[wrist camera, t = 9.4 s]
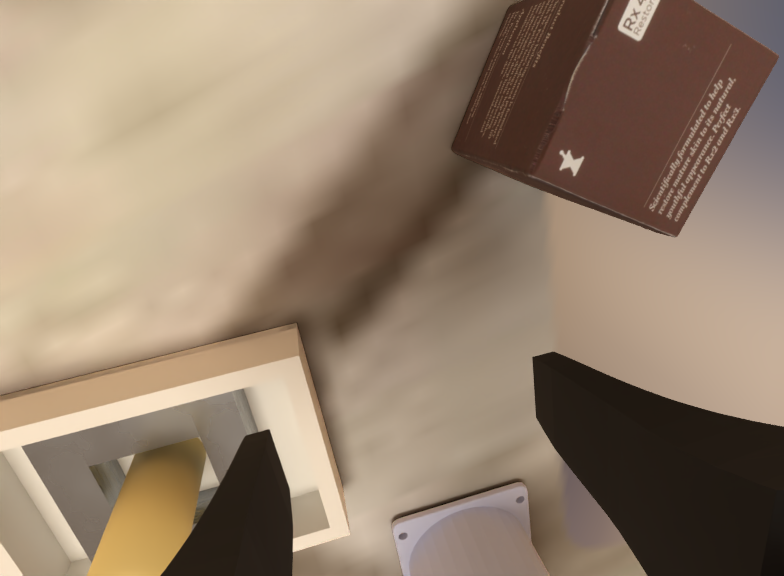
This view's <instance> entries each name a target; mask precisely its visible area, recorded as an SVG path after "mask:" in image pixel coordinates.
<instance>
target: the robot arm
mask: <svg viewBox="0 0 784 576" xmlns="http://www.w3.org/2000/svg"><path fill="white" fill-rule="evenodd" d="M532 358H533V373H534V389H535V405H536V418H537V419H538V421H539V423H540V425H541V426H542V428H543V430H544V432H545V433H546V435H547V437H548V438H549V440H550V442H551V443H552V445H553V446H554V448H555V449H556V451H557V452H558V453H559V455H560V456H561V457H562V458H563V460H564V461H565V462H566V464H567V465H568V466H569V467H570V469H571V470H572V471H573V473H574V474H575V475H576V476H577V478H578V479H579V480H580V481H581V483H582V484H583V485H584V486H585V488H586V489H587V490H588V491H589V492H590V494H591V495H592V496H593V498H594V499H595V500H596V501H597V503H598V504H599V505H600V506H601V508H602V509H603V510H604V511H605V513H606V514H607V515H608V517H609V518H610V519H611V521H612V522H613V523H614V525H615V526H616V528H617V529H618V530H619V532H620V533H621V535H622V536H623V538H624V539H625V541H626V543H627V544H628V546H629V547H630V549H631V550H632V552H633V553H634V555H635V556H636V558H637V560H638V561H639V563H640V564H641V566H642V567H643V569H644V571H645V572H646V574H647V575H648V576H784V427H782V426H776V425H771V424H765V423H760V422H755V421H750V420H746V419H741V418H737V417H732V416H728V415H723V414H719V413H716V412H712V411H708V410H704V409H701V408H698V407H694V406H691V405H687V404H684V403H681V402H677V401H674V400H671V399H668V398H665V397H662V396H660V395H657V394H654V393H652V392H649V391H646V390H643V389H641V388H638V387H636V386H633V385H630V384H628V383H625V382H623V381H621V380H618V379H616V378H613V377H611V376H609V375H606V374H604V373H602V372H600V371H597V370H595V369H593V368H591V367H588V366H586V365H584V364H581V363H579V362H577V361H575V360H572V359H570V358H568V357H566V356H563V355H561V354H558V353H556V352H550V353H546V354H543V355H539V356H535V357H532ZM518 497H519V498H518ZM392 531H393V536H394V540H395V544H396V548H397V552H398V557H399V561H400V565H401V569H402V573H403V576H550V575H549V573H548V571H547V569H546V568H545V566H544V564H543V562H542V560H541V559H540V557H539V555H538V553H537V551H536V550H535V548H534V546H533V544H532V541H531V528H530V515H529V502H528V490H527V488H526V486H525V484H524V483H522V482H516V483H513V484H510V485H506V486H503V487H500V488H496V489H493V490H490V491H487V492H483V493H480V494H477V495H474V496H470V497H467V498H464V499H461V500H457V501H454V502H451V503H447V504H444V505H441V506H438V507H434V508H431V509H428V510H425V511H421V512H418V513H415V514H411V515H408V516H405V517H402V518H399V519H396V520H395V521H394V522H393V523H392ZM401 533H403V534H401ZM292 562H293V518H292V507H291V497H290V488H289V485H288V482H287V479H286V476H285V473H284V471H283V468H282V465H281V462H280V459H279V456H278V453H277V450H276V447H275V444H274V441H273V438H272V435H271V432H270V429H268V430H264V431H260V432H257V433H253V434H249V435H246V436H245V437H244V439H243V440H242V442H241V444H240V446H239V448H238V450H237V452H236V454H235V456H234V458H233V460H232V462H231V464H230V466H229V468H228V470H227V472H226V474H225V476H224V478H223V479H222V481H221V483H220V485H219V487H218V488H217V490H216V492H215V494H214V496H213V497H212V499H211V501H210V503H209V504H208V506H207V508H206V509H205V511H204V513H203V514H202V516H201V517H200V519H199V521H198V522H197V524H196V526H195V527H194V529H193V530H192V532H191V534H190V535H189V537H188V538H187V540H186V541H185V542H184V544H183V545H182V547H181V548H180V550H179V551H178V553H177V554H176V555H175V557H174V558H173V559H172V561H171V562H170V564H169V565H168V566H167V568H166V569H165V570H164V572H163V573H162V574H161V575H160V576H292Z"/></svg>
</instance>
